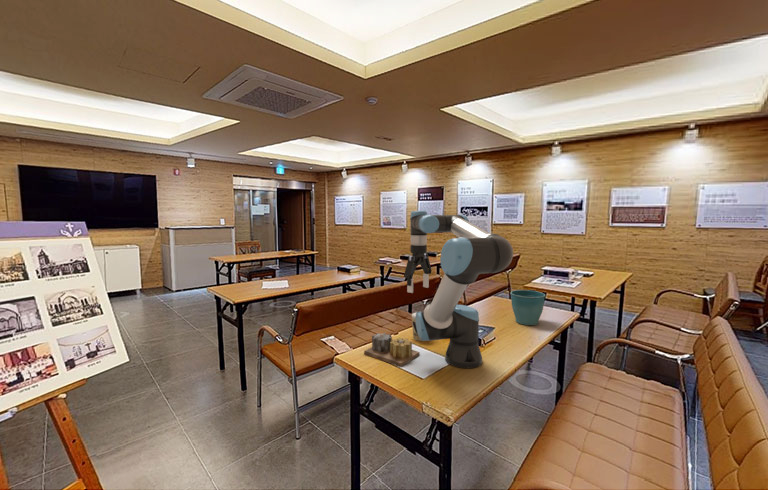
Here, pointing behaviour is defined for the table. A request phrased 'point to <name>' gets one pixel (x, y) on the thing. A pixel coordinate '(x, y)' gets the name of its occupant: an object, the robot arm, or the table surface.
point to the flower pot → (527, 306)
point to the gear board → (387, 350)
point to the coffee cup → (415, 334)
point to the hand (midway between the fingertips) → (418, 289)
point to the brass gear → (400, 348)
